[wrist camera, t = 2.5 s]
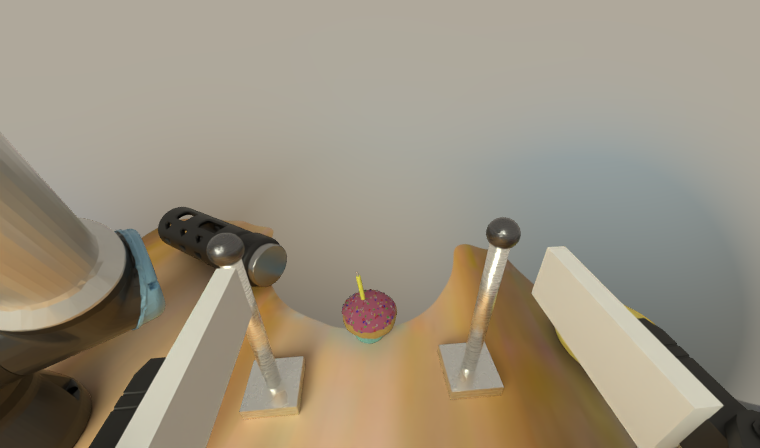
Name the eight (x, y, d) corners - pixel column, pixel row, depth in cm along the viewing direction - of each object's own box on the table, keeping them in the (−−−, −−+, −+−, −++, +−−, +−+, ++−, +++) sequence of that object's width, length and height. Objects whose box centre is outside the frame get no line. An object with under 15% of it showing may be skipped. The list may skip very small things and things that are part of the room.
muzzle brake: (207, 236, 74) (192, 198, 68) (294, 273, 62) (285, 231, 56) (168, 257, 67) (148, 218, 61) (258, 304, 55) (243, 260, 49)
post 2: (450, 400, 40) (485, 243, 26) (437, 353, 46) (460, 204, 32) (500, 395, 41) (562, 238, 27) (481, 349, 47) (523, 200, 33)
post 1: (243, 419, 39) (161, 262, 25) (257, 368, 45) (197, 217, 30) (298, 414, 39) (249, 257, 25) (305, 364, 45) (268, 214, 31)
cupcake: (333, 338, 49) (325, 283, 42) (363, 303, 55) (360, 251, 48) (378, 364, 45) (377, 308, 38) (405, 324, 51) (408, 270, 44)
